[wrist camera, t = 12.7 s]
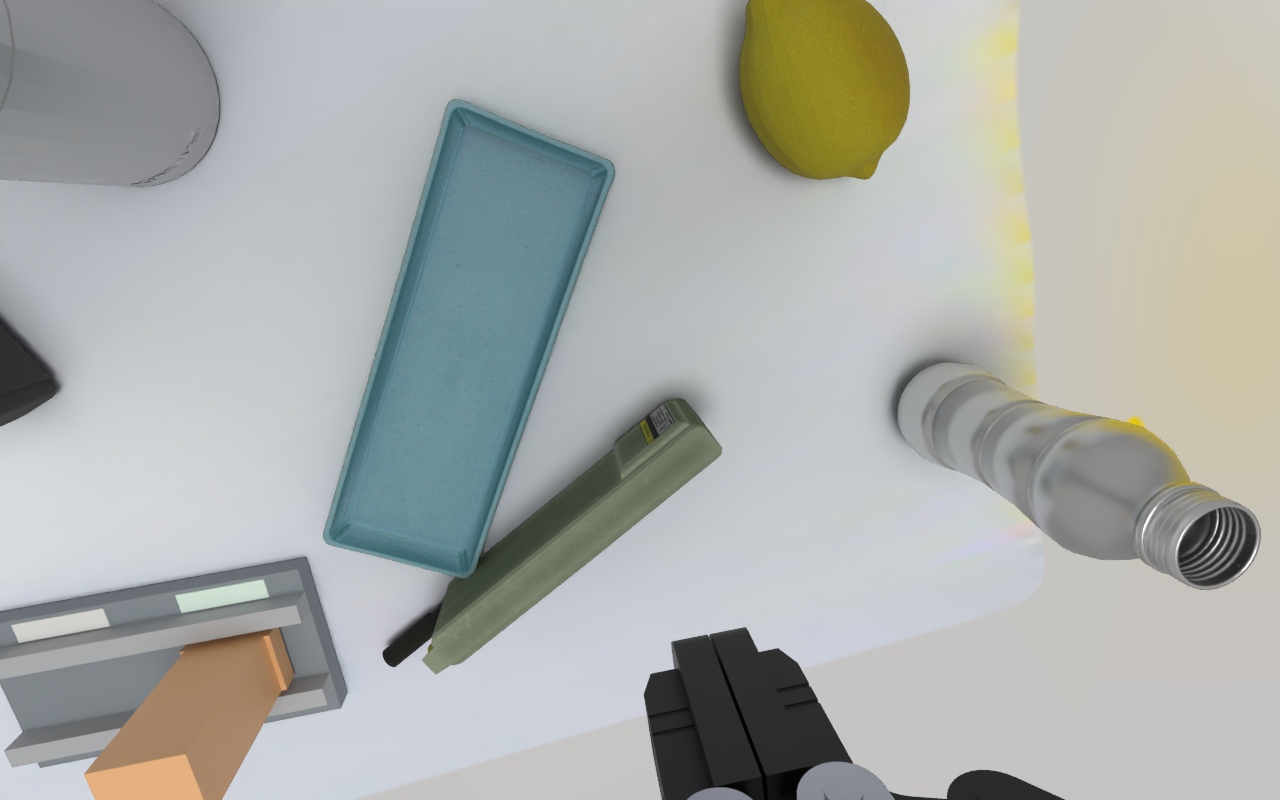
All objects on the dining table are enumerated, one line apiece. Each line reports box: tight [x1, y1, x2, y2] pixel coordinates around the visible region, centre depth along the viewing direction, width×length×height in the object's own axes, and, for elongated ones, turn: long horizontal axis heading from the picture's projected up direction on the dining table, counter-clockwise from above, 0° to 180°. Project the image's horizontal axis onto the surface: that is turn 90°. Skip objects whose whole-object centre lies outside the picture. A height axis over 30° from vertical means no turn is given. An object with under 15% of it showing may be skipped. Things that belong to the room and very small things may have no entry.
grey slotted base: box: [0, 557, 347, 768], centre depth 41 cm, size 18×10×3 cm, turn 98°
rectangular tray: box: [323, 99, 615, 578], centre depth 39 cm, size 26×9×2 cm, turn 159°
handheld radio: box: [383, 398, 722, 674], centre depth 41 cm, size 7×3×25 cm
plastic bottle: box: [898, 362, 1261, 590], centre depth 35 cm, size 6×7×20 cm
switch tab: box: [84, 627, 295, 800], centre depth 36 cm, size 5×4×10 cm
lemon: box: [739, 0, 910, 180], centre depth 35 cm, size 11×8×8 cm
